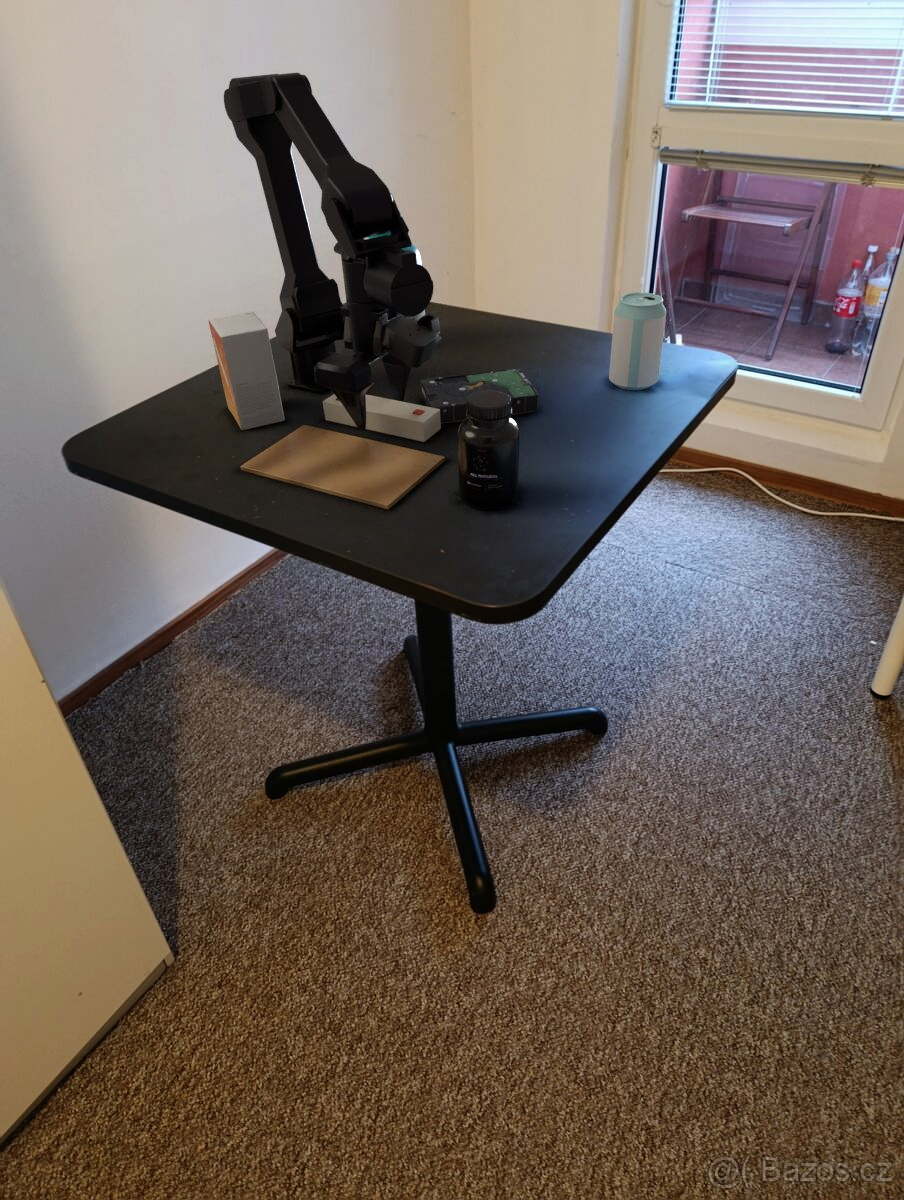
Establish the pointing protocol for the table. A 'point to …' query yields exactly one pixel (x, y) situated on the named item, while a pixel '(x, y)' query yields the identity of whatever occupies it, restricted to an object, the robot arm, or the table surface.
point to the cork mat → (345, 465)
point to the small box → (247, 369)
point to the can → (637, 341)
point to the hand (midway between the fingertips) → (381, 414)
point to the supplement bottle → (488, 452)
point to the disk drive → (456, 390)
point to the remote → (389, 417)
